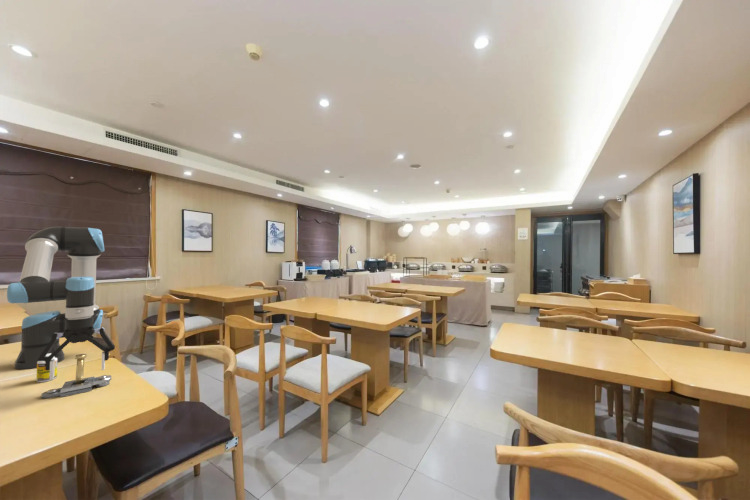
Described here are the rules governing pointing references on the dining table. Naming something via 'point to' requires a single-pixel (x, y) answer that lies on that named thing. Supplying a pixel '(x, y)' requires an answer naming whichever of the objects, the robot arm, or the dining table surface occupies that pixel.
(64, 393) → the grey metal link plate
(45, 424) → the dining table surface
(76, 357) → the pin
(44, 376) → the supplement bottle
